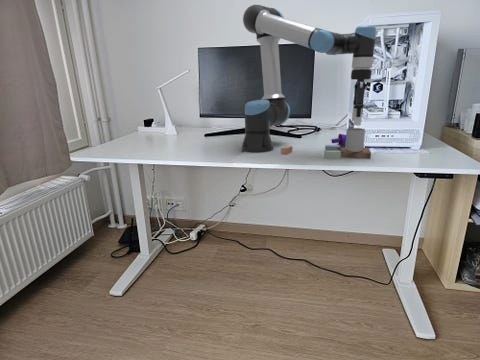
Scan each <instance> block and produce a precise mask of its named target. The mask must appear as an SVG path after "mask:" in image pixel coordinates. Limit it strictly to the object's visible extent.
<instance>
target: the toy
mask: <svg viewBox="0 0 480 360" xmlns="http://www.w3.org/2000/svg"><path fill="white" fill-rule="evenodd" d="M331 144H338V145H337V146H340V147H343V146H345V145H346V134H344V133H343V134H342V133H338V136H337V138H332V139H331Z"/></svg>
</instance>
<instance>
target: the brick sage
mask: <svg viewBox="0 0 480 360" xmlns="http://www.w3.org/2000/svg"><path fill="white" fill-rule="evenodd" d="M323 158H325V160H331V159H332V160H335V159H338V160H339V159H342V158H341V152H340V151H339V150H333V151H325V150H324V157H323Z"/></svg>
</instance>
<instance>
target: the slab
mask: <svg viewBox="0 0 480 360" xmlns="http://www.w3.org/2000/svg"><path fill="white" fill-rule="evenodd" d="M340 152H341V159H344V158H346V159H347V158H348V159H370V160H371V157H372V156H371V155H372V152H371V149H370V148H369V147H363V151H361V152H349V151H346V150H345V146H340Z"/></svg>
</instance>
